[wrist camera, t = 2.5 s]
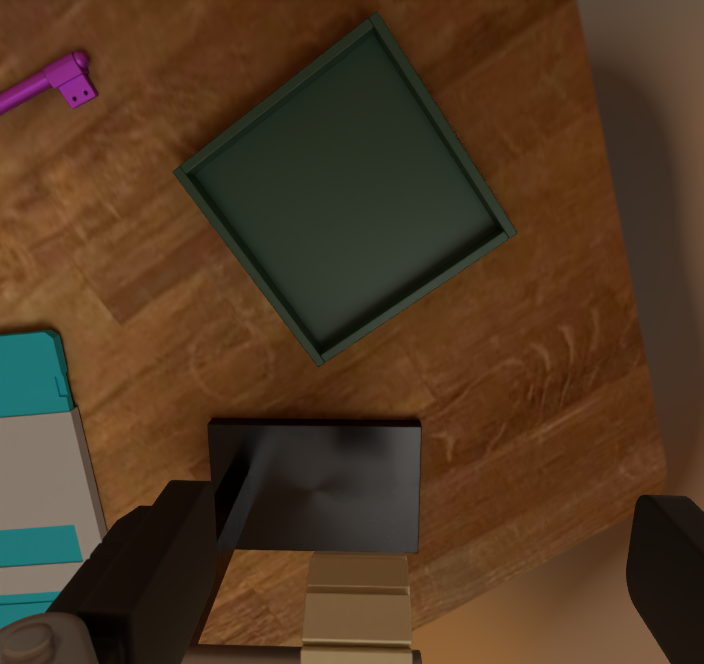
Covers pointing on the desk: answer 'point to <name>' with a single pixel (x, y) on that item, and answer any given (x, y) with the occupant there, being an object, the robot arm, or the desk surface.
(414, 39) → the desk surface
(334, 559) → the gear wheel
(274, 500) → the hook stand
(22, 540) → the square teal disk
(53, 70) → the linear actuator
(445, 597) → the desk surface
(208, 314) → the desk surface
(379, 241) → the tray
